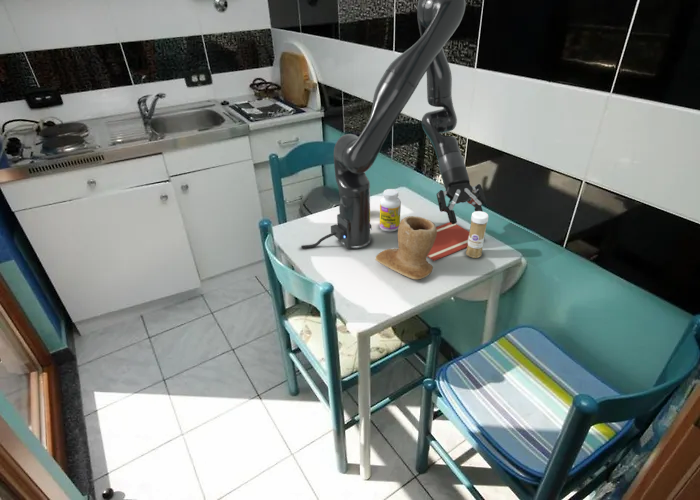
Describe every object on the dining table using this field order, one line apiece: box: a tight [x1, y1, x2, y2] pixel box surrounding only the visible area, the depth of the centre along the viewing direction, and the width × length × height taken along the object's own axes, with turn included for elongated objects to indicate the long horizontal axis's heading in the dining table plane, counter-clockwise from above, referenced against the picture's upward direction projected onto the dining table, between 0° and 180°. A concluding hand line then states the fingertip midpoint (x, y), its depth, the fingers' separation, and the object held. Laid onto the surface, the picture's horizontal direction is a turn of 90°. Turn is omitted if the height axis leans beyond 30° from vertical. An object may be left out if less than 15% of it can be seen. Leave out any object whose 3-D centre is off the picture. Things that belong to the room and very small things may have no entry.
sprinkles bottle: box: [465, 210, 489, 259], centre depth 120 cm, size 5×5×14 cm
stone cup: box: [374, 215, 437, 281], centre depth 115 cm, size 15×12×15 cm
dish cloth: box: [427, 221, 470, 262], centre depth 130 cm, size 20×14×1 cm
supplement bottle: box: [379, 188, 402, 233], centre depth 134 cm, size 7×7×13 cm
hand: (467, 221), depth 123 cm, fingers open, 8 cm apart
